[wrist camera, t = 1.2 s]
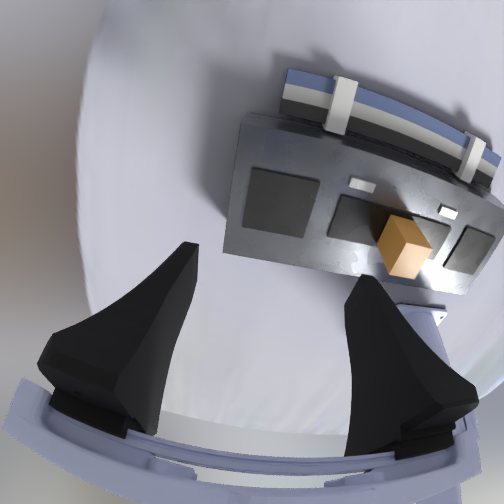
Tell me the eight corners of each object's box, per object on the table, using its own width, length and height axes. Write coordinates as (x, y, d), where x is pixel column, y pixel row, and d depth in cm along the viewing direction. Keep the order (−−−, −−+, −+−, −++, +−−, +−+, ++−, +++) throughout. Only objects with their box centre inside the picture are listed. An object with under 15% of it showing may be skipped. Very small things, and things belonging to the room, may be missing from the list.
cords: (481, 185, 17) (491, 194, 16) (278, 115, 17) (278, 119, 15) (495, 149, 15) (506, 157, 14) (288, 64, 14) (290, 63, 13)
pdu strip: (450, 270, 23) (464, 296, 20) (230, 225, 22) (222, 254, 19) (492, 194, 17) (515, 216, 14) (247, 112, 17) (240, 123, 14)
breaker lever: (400, 249, 18) (414, 279, 15) (376, 244, 18) (388, 274, 15) (415, 221, 16) (432, 249, 14) (390, 214, 16) (406, 242, 14)
